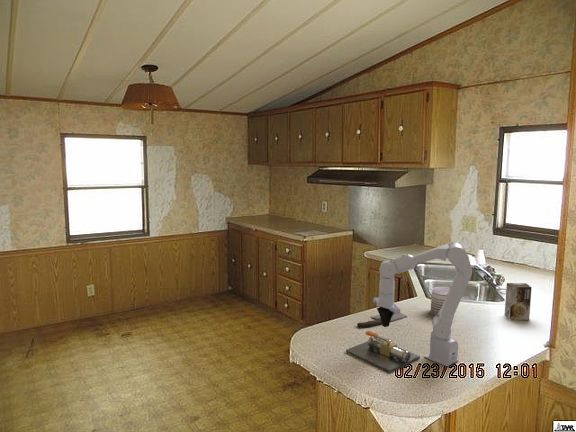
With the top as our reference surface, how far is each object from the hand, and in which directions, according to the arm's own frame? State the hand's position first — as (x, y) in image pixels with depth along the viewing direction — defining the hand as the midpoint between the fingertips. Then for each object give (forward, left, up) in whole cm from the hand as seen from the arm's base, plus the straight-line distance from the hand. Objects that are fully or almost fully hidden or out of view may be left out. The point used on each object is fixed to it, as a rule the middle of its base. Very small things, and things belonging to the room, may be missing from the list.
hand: (385, 326), depth 168 cm
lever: (+1, +3, -5) cm, 6 cm away
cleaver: (+22, -25, -11) cm, 35 cm away
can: (+9, -55, -11) cm, 57 cm away
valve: (-2, +4, -10) cm, 11 cm away
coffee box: (-16, -78, -11) cm, 81 cm away
